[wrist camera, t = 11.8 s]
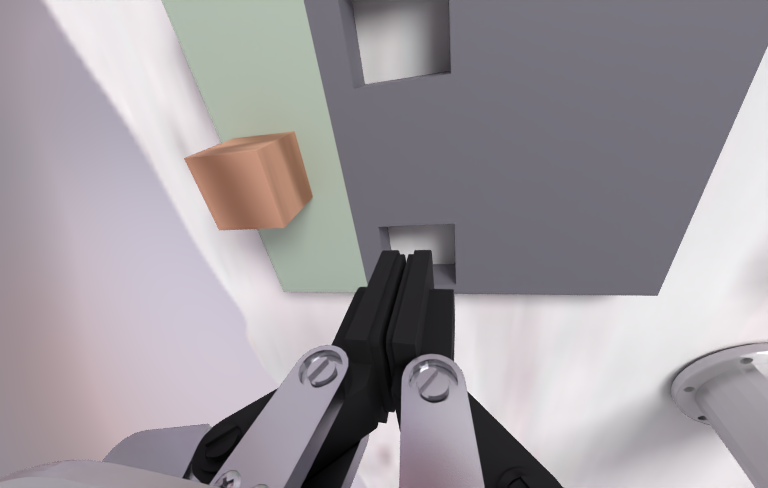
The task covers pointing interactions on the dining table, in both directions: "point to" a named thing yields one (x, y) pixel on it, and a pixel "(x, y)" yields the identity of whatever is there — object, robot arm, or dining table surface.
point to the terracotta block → (252, 181)
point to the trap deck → (488, 133)
